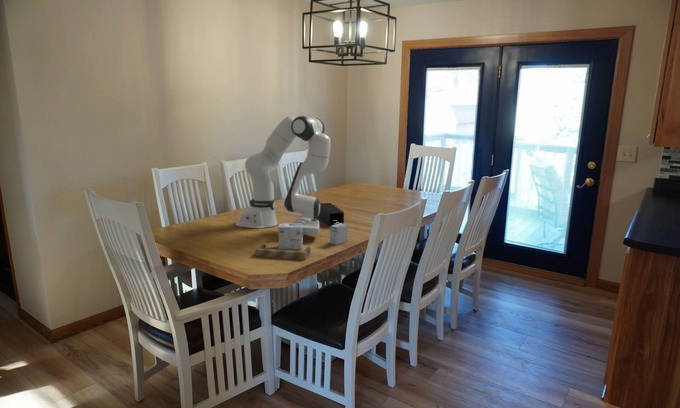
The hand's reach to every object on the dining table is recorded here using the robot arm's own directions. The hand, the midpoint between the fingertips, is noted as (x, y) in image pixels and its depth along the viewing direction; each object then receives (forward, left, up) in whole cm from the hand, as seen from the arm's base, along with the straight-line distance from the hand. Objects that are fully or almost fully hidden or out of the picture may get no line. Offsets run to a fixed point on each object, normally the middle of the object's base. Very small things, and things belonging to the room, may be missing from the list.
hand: (294, 233), depth 206 cm
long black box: (+14, +34, -1) cm, 37 cm away
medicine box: (+20, +6, -5) cm, 21 cm away
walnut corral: (0, -17, -5) cm, 18 cm away
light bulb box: (0, -6, -5) cm, 8 cm away
